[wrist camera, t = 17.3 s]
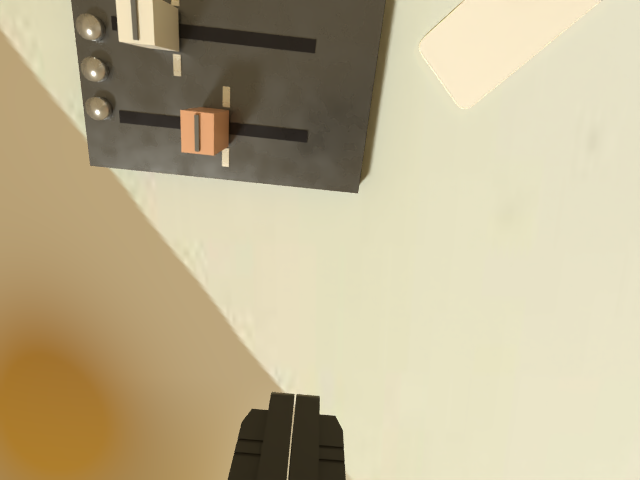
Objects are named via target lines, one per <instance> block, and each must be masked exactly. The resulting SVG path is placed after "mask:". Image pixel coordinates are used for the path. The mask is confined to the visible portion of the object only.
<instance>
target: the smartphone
mask: <svg viewBox="0 0 640 480" xmlns="http://www.w3.org/2000/svg"><path fill="white" fill-rule="evenodd" d="M601 1H602V0H464V1H463V2H462V3H461V4H460V5H458V6H457V7H456V8H455V9H454V10H453V11H452V12H451V13H450V14H448V16H446V17H445V18H444V19H443V20H442V21H441V22H440V23H439V24H438V25H436V26H435V27H434V28H433V29H432V30H431V31H430V32H429V33H428V34H426V35H425V36H424V37H423V39H422V40H421V41H420V44H419V51H420V53H421V55H422V57H423V58H424V60H425V61H426V62H427V64H428V65H429V66H430V68H431V69H432V71H433V72H434V74H435V75H436V76H437V78H438V79H439V80H440V82H441V83H442V85H443V86H444V88H445V89H446V90H447V92H448V93H449V95H450V96H451V98H452V99H453V100H454V102H455V103H456V105H457V106H458V107H460V108H462V109H468V108H470V107H472V106H473V105H475V104H476V103H477V102H478V101H480V100H481V99H482V98H483V97H484V96H486V95H487V94H488V93H489V92H491V91H492V90H493V89H494V88H495V87H497V86H498V85H499V84H500V83H502V82H503V81H504V80H505V79H506V78H508V77H509V76H510V75H511V74H513V73H514V72H515V71H516V70H517V69H519V68H520V67H521V66H522V65H524V64H525V63H526V62H527V61H528V60H530V59H531V58H532V57H533V56H535V55H536V54H537V53H538V52H540V51H541V50H542V49H543V48H544V47H546V46H547V45H548V44H549V43H551V42H552V41H553V40H554V39H555V38H557V37H558V36H559V35H560V34H562V33H563V32H564V31H565V30H566V29H568V28H569V27H570V26H571V25H573V24H574V23H575V22H576V21H577V20H579V19H580V18H581V17H582V16H584V15H585V14H586V13H587V12H588V11H590V10H591V9H592V8H593V7H595V6H596V5H597V4H598V3H600V2H601Z"/></svg>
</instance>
